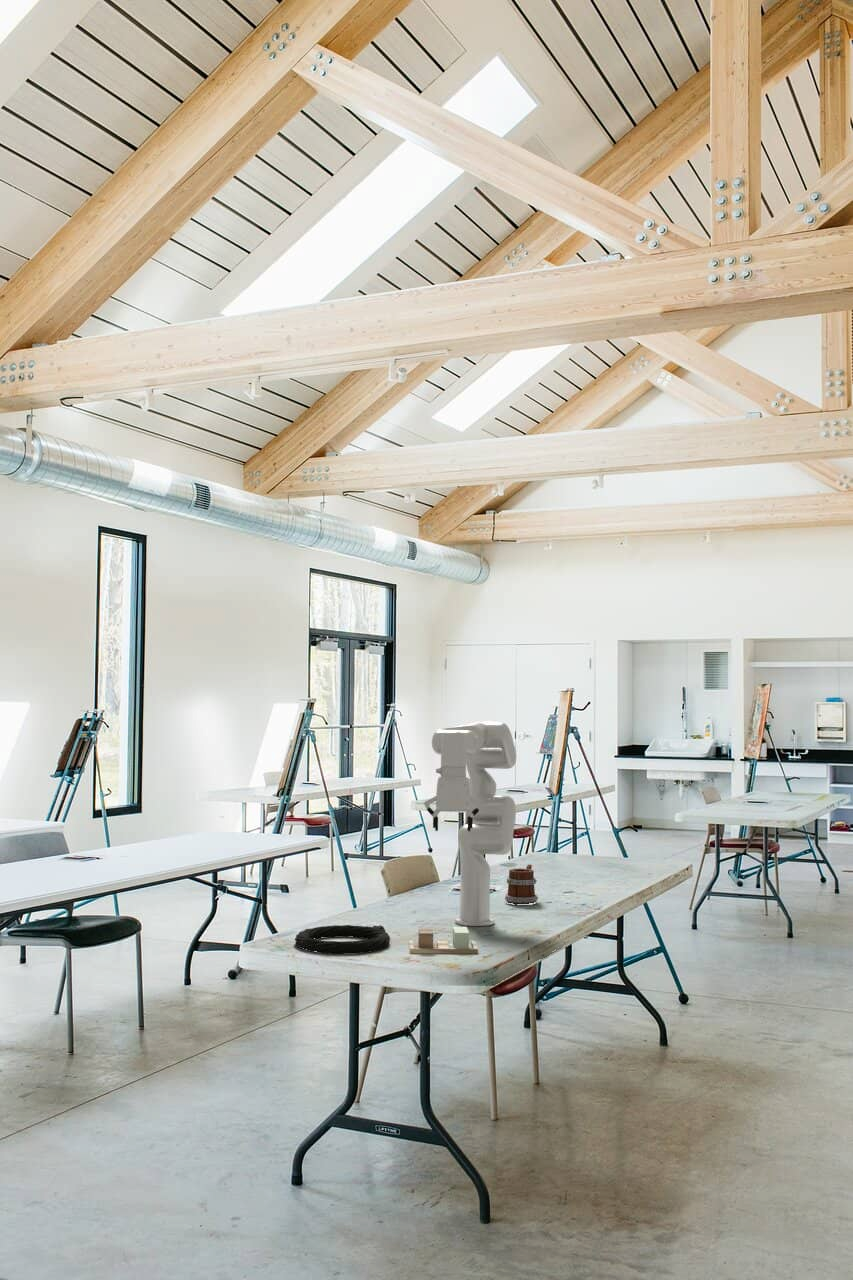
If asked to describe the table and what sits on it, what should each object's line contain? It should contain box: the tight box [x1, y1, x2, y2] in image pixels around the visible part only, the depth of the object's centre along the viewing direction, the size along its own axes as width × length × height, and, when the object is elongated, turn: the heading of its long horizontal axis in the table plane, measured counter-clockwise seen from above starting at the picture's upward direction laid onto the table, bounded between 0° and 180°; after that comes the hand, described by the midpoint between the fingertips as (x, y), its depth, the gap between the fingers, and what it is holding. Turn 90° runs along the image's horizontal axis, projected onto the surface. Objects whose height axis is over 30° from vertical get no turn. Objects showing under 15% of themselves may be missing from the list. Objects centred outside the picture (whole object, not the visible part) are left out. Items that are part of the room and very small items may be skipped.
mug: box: [504, 864, 539, 904], centre depth 396 cm, size 12×14×15 cm
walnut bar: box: [417, 926, 434, 948], centre depth 315 cm, size 9×4×5 cm, turn 1°
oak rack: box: [408, 938, 479, 954], centre depth 315 cm, size 13×19×1 cm
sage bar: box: [452, 926, 470, 948], centre depth 316 cm, size 9×4×5 cm, turn 3°
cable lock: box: [294, 924, 391, 955], centre depth 320 cm, size 28×4×30 cm
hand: (452, 830), depth 328 cm, fingers open, 9 cm apart
